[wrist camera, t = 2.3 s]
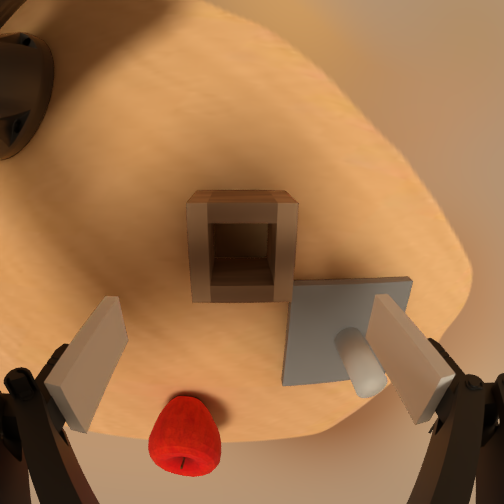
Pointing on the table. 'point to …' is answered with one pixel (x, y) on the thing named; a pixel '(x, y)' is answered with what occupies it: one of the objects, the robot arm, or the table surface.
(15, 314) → the table surface
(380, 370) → the stand
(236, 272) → the frame
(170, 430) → the apple
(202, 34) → the table surface
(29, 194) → the table surface
